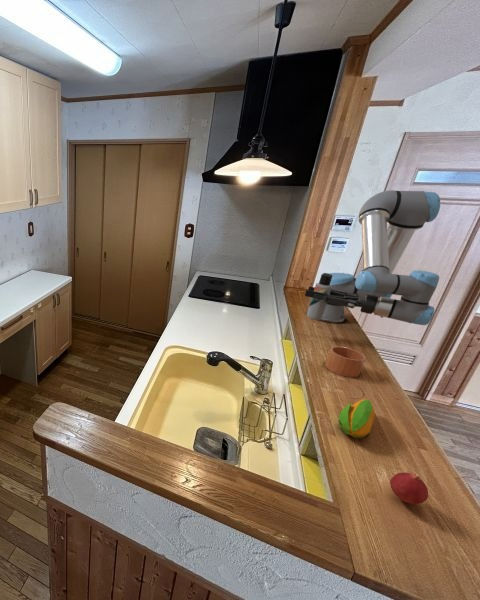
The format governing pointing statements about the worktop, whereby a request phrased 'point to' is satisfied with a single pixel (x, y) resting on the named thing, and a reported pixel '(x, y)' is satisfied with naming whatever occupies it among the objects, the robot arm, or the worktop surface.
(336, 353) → the bowl
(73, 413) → the worktop surface
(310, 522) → the worktop surface
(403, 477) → the onion
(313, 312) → the lotion bottle
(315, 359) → the worktop surface
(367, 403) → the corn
